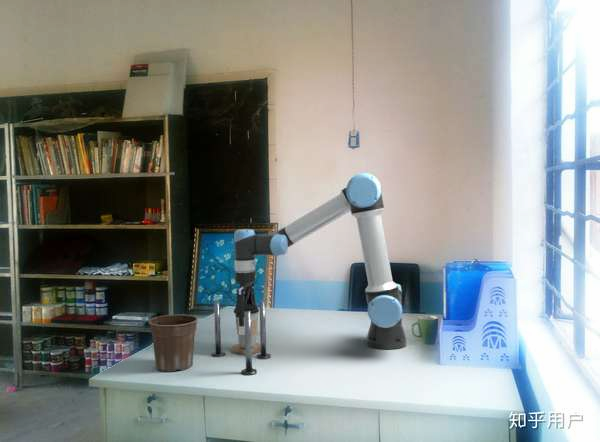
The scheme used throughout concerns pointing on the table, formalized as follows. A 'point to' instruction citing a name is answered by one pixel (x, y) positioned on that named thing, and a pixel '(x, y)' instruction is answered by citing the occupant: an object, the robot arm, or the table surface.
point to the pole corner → (263, 332)
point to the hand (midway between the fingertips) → (246, 331)
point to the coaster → (238, 350)
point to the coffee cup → (254, 323)
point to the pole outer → (248, 346)
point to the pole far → (217, 331)
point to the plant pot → (173, 341)
